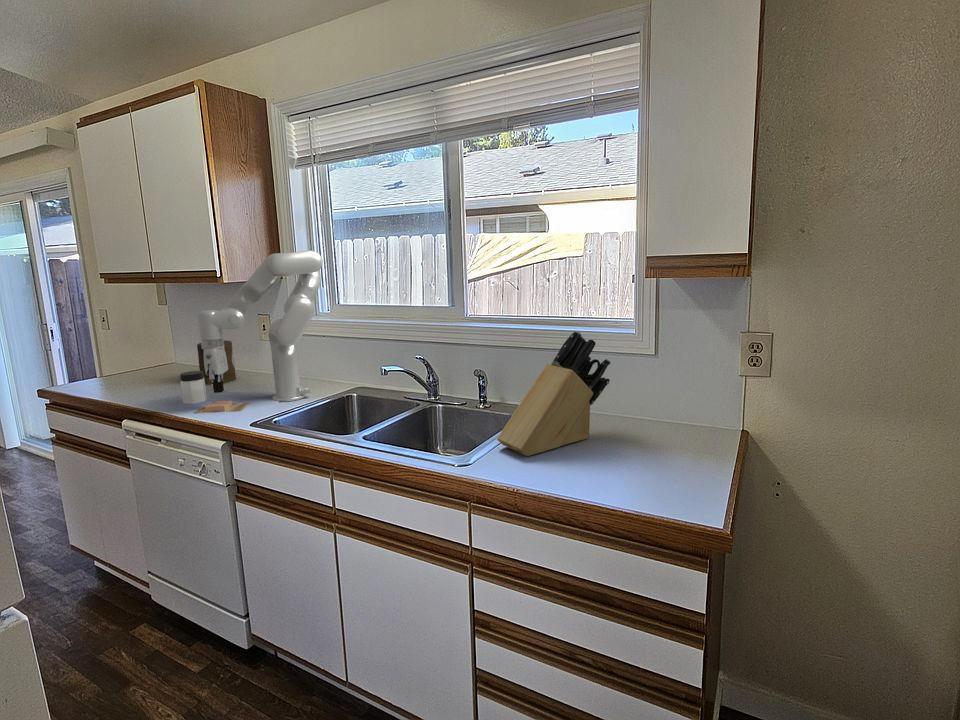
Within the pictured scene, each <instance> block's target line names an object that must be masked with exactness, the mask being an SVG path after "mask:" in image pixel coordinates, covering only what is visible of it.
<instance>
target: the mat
mask: <svg viewBox="0 0 960 720" xmlns="http://www.w3.org/2000/svg"><path fill="white" fill-rule="evenodd" d="M251 404H252V402H238V403H237V402H235V403H234V402H232V406H231V407H230V408H228V409H227V410H226V411H218V412H205V406H207V405H208V404H206V405H204V406H203V407H201V408H200V409H198V410H196V411H195V412H193V414H212V413H213V414H214V413H230V412H233V413H235V412H241V411H243V410H244V409H246V408H247V407H248V406H249V405H251Z"/></svg>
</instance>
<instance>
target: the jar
mask: <svg viewBox="0 0 960 720" xmlns="http://www.w3.org/2000/svg"><path fill="white" fill-rule="evenodd" d="M179 377H180V382H179V383H180V389H181V390H180V391H181V396H182V403H183V404H191V405H193V404H197V403H198V404H199V403H203V402H206V401H207V399H208V396H207V395H208V394H207V388H206V384H205V380H204V376H203V371H200V370H191V371H184V372H181V373H180V374H179Z"/></svg>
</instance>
